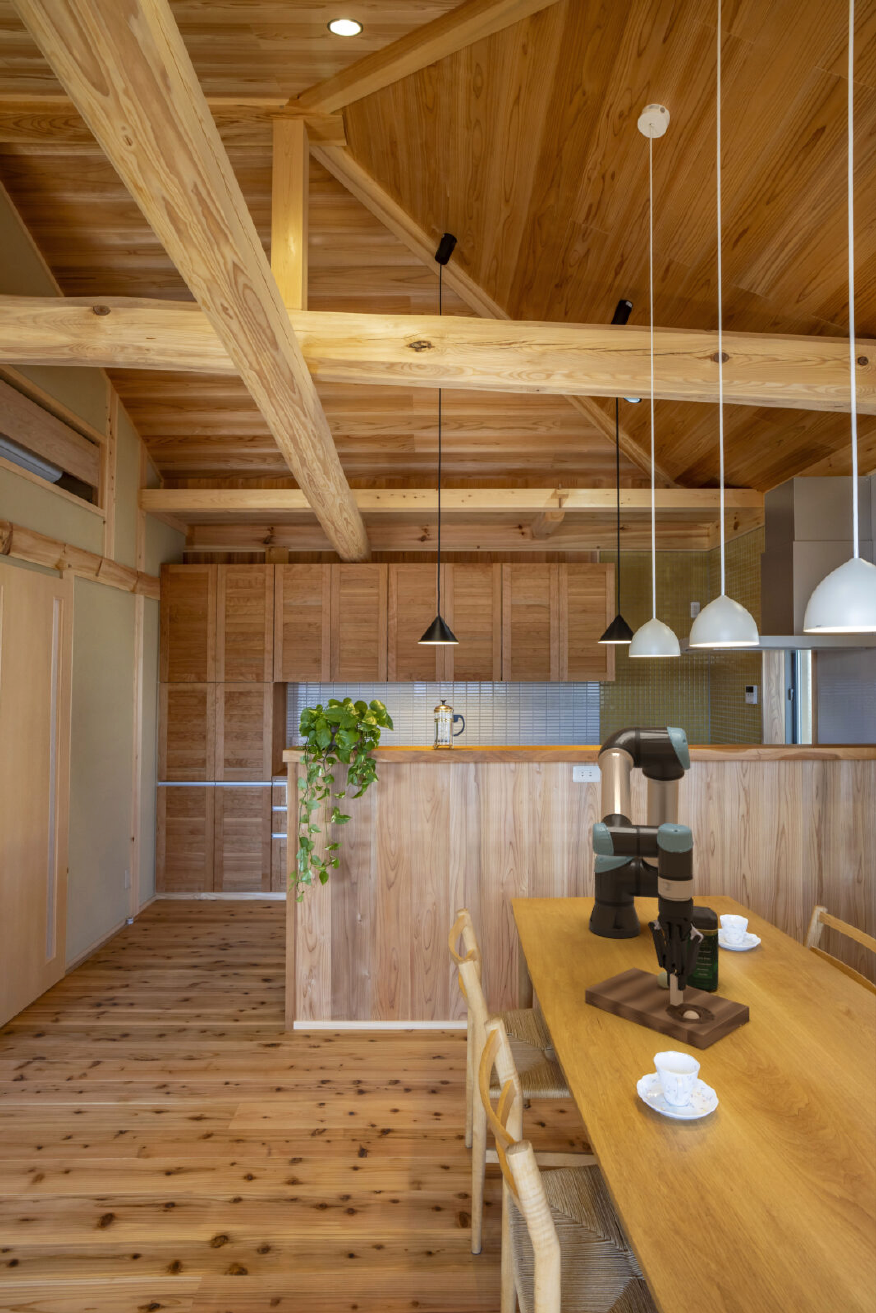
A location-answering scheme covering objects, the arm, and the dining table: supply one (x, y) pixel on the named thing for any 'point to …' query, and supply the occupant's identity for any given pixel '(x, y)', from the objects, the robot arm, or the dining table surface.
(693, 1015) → the cream ball
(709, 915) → the coffee jar
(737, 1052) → the dining table surface
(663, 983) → the sage ball
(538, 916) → the dining table surface
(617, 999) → the board
